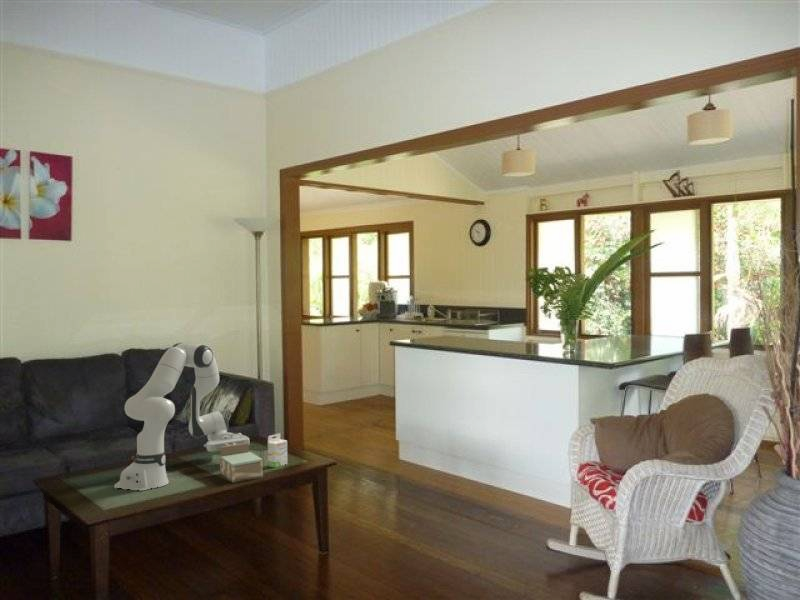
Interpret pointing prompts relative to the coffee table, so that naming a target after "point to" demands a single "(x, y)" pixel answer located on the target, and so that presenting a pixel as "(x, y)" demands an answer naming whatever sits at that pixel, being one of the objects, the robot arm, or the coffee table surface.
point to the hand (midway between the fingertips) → (233, 447)
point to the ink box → (277, 451)
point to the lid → (238, 455)
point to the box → (241, 471)
